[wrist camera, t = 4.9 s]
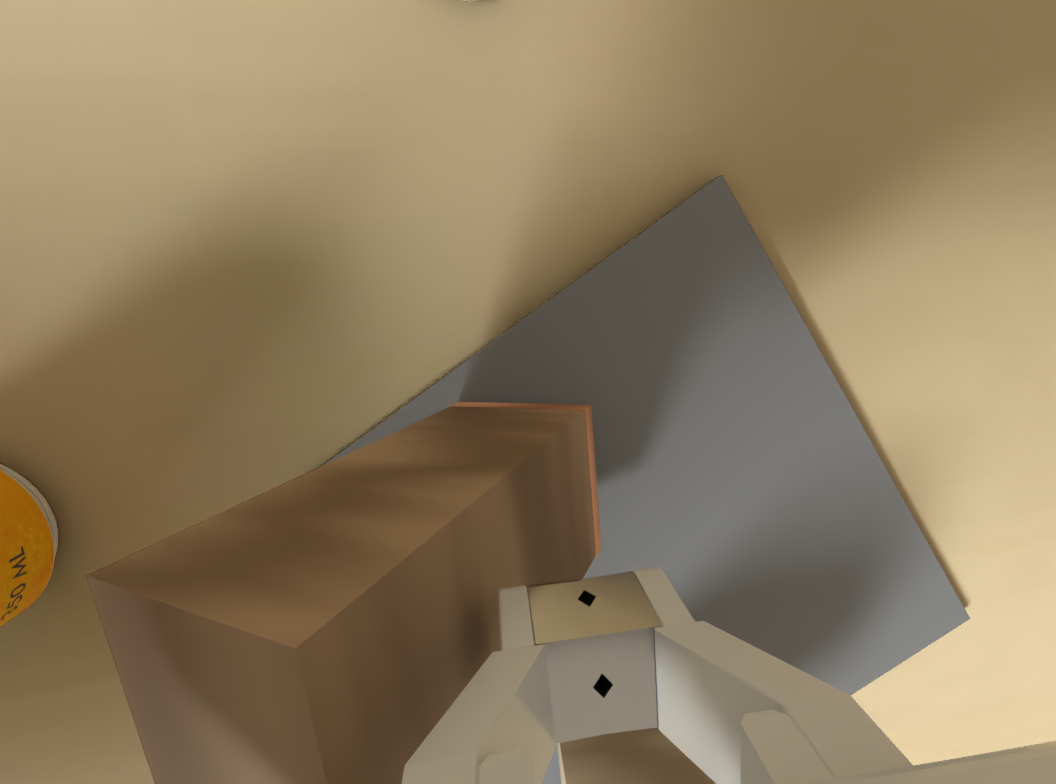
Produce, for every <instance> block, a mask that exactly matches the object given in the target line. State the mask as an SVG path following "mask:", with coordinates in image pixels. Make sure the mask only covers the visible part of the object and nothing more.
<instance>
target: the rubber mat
mask: <svg viewBox="0 0 1056 784" xmlns="http://www.w3.org/2000/svg"><path fill="white" fill-rule="evenodd" d="M457 402H491V403H535V404H580V405H591V408H592V422H593V436H594V451H595V465H596V479H597V493H598V507H599V521H600V535H601V550H600V552H599V553H598V555H597V557H595V558H594V560H593V562H592V563H591V565H590V567H589V569H588V570H587V572H586V574H585V575H584V577H583V579H586V578H592V577H599V576H605V575H611V574H617V573H623V572H630V571H633V570H639V569H644V568H650V567H655V566H657V567H659V568H661V569H662V571H663V572H664V574H665V575H666V577H667V578H668V580H669V581H670V583H671V585H672V586H673V588H674V589H675V591H676V592H677V594H678V595H679V597H680V599H681V600H682V602H683V603H684V605H685V606H686V608H687V609H688V611H689V613H690V614H691V616H692V617H693V619H694V620H695V622H698V621H705V622H707V623H709V624H711V625H713V626H715V627H717V628H719V629H721V630H723V631H725V632H727V633H729V634H731V635H733V636H735V637H737V638H739V639H741V640H743V641H744V642H746V643H748V644H750V645H752V646H754V647H756V648H758V649H760V650H762V651H764V652H766V653H768V654H770V655H772V656H774V657H776V658H778V659H780V660H782V661H784V662H786V663H788V664H790V665H792V666H794V667H796V668H798V669H800V670H802V671H804V672H806V673H808V674H810V675H812V676H814V677H816V678H817V679H819V680H821V681H823V682H825V683H827V684H829V685H831V686H833V687H835V688H837V689H839V690H841V691H843V692H845V693H847V694H849V695H852V694H853V693H855V692H857V691H858V690H860V689H861V688H863V687H864V686H866V685H867V684H869V683H871V682H872V681H874V680H875V679H877V678H878V677H880V676H882V675H883V674H885V673H886V672H888V671H889V670H891V669H892V668H894V667H896V666H897V665H899V664H900V663H902V662H903V661H905V660H906V659H908V658H910V657H911V656H913V655H914V654H916V653H917V652H919V651H920V650H922V649H924V648H925V647H927V646H928V645H930V644H931V643H933V642H934V641H936V640H938V639H939V638H941V637H942V636H944V635H945V634H947V633H948V632H950V631H952V630H953V629H955V628H956V627H958V626H959V625H961V624H962V623H964V622H966V621H967V620H969V619H970V617H969V615H968V614H967V612H966V610H965V608H964V607H963V605H962V603H961V601H960V599H959V598H958V596H957V594H956V592H955V590H954V589H953V587H952V585H951V583H950V582H949V580H948V578H947V576H946V574H945V573H944V571H943V569H942V567H941V565H940V564H939V562H938V560H937V558H936V557H935V555H934V553H933V551H932V549H931V548H930V546H929V544H928V542H927V540H926V539H925V537H924V535H923V533H922V532H921V530H920V528H919V526H918V524H917V523H916V521H915V519H914V517H913V515H912V514H911V512H910V510H909V508H908V507H907V505H906V503H905V501H904V499H903V498H902V496H901V494H900V492H899V490H898V489H897V487H896V485H895V483H894V482H893V480H892V478H891V476H890V474H889V473H888V471H887V469H886V467H885V465H884V464H883V462H882V460H881V458H880V456H879V455H878V453H877V451H876V449H875V448H874V446H873V444H872V442H871V440H870V439H869V437H868V435H867V433H866V431H865V430H864V428H863V426H862V424H861V423H860V421H859V419H858V417H857V415H856V414H855V412H854V410H853V408H852V406H851V405H850V403H849V401H848V399H847V398H846V396H845V394H844V392H843V390H842V389H841V387H840V385H839V383H838V381H837V380H836V378H835V376H834V374H833V373H832V371H831V369H830V367H829V365H828V364H827V362H826V360H825V358H824V356H823V355H822V353H821V351H820V349H819V348H818V346H817V344H816V342H815V340H814V339H813V337H812V335H811V333H810V331H809V330H808V328H807V326H806V324H805V323H804V321H803V319H802V317H801V315H800V314H799V312H798V310H797V308H796V306H795V305H794V303H793V301H792V299H791V298H790V296H789V294H788V292H787V290H786V289H785V287H784V285H783V283H782V281H781V280H780V278H779V276H778V274H777V273H776V271H775V269H774V267H773V265H772V264H771V262H770V260H769V258H768V256H767V255H766V253H765V251H764V249H763V248H762V246H761V244H760V242H759V240H758V239H757V237H756V235H755V233H754V231H753V230H752V228H751V226H750V224H749V223H748V221H747V219H746V217H745V215H744V214H743V212H742V210H741V208H740V206H739V205H738V203H737V201H736V199H735V197H734V196H733V194H732V192H731V190H730V189H729V187H728V185H727V183H726V181H725V180H724V178H723V176H722V175H721V176H719V177H717V178H715V179H714V180H712V181H711V182H710V183H708V184H707V185H706V186H704V187H703V188H702V189H700V190H699V191H697V192H696V193H695V194H693V195H692V196H691V197H689V198H688V199H686V200H685V201H684V202H682V203H681V204H680V205H678V206H677V207H675V208H674V209H673V210H671V211H670V212H669V213H667V214H666V215H664V216H663V217H662V218H660V219H659V220H658V221H656V222H655V223H654V224H652V225H651V226H649V227H648V228H647V229H645V230H644V231H643V232H641V233H640V234H638V235H637V236H636V237H634V238H633V239H632V240H630V241H629V242H627V243H626V244H625V245H623V246H622V247H621V248H619V249H618V250H617V251H615V252H614V253H612V254H611V255H610V256H608V257H607V258H606V259H604V260H603V261H601V262H600V263H599V264H597V265H596V266H595V267H593V268H592V269H590V270H589V271H588V272H586V273H585V274H584V275H582V276H581V277H580V278H578V279H577V280H575V281H574V282H573V283H571V284H570V285H569V286H567V287H566V288H564V289H563V290H562V291H560V292H559V293H558V294H556V295H555V296H553V297H552V298H551V299H549V300H548V301H547V302H545V303H544V304H543V305H541V306H540V307H538V308H537V309H536V310H534V311H533V312H532V313H530V314H529V315H527V316H526V317H525V318H523V319H522V320H521V321H519V322H518V323H516V324H515V325H514V326H512V327H511V328H510V329H508V330H507V331H506V332H504V333H503V334H501V335H500V336H499V337H497V338H496V339H495V340H493V341H492V342H490V343H489V344H488V345H486V346H485V347H484V348H482V349H481V350H479V351H478V352H477V353H475V354H474V355H473V356H471V357H470V358H468V359H467V360H466V361H464V362H463V363H462V364H460V365H459V366H458V367H456V368H455V369H453V370H452V371H451V372H449V373H448V374H447V375H445V376H444V377H442V378H441V379H440V380H438V381H437V382H436V383H434V384H433V385H431V386H430V387H429V388H427V389H426V390H425V391H423V392H422V393H421V394H419V395H418V396H416V397H415V398H414V399H412V400H411V401H410V402H408V403H407V404H405V405H404V406H403V407H401V408H400V409H399V410H397V411H396V412H394V413H393V414H392V415H390V416H389V417H388V418H386V419H385V420H384V421H382V422H381V423H379V424H378V425H377V426H375V427H374V428H373V429H371V430H370V431H368V432H367V433H366V434H364V435H363V436H362V437H360V438H359V439H357V440H356V441H355V442H353V443H352V444H351V445H349V446H348V447H347V448H345V449H344V450H342V451H341V452H340V453H338V454H337V455H336V456H334V457H333V458H331V459H330V460H329V461H327V462H326V463H325V464H328V463H330V462H332V461H334V460H336V459H338V458H340V457H343V456H345V455H347V454H349V453H351V452H353V451H355V450H358V449H360V448H362V447H364V446H366V445H368V444H371V443H373V442H375V441H377V440H379V439H381V438H383V437H386V436H388V435H390V434H392V433H394V432H396V431H398V430H401V429H403V428H405V427H407V426H409V425H411V424H413V423H416V422H418V421H420V420H422V419H424V418H426V417H428V416H431V415H433V414H435V413H437V412H439V411H441V410H444V409H446V408H448V407H450V405H452V404H454V403H457ZM325 464H323V465H325ZM323 465H322V466H323ZM320 467H321V466H320ZM555 745H556V744H555ZM542 784H560V775H559V766H558V756H557V746H556V748H555V750H554V753H553V756H552V758H551V761H550V763H549V766H548V768H547V771H546V773H545V776H544V778H543V781H542Z"/></svg>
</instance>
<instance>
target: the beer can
mask: <svg viewBox="0 0 1056 784" xmlns="http://www.w3.org/2000/svg"><path fill="white" fill-rule="evenodd" d="M57 548H58V528H57V523H56V520H55V517H54V514H53V512H52V510H51V508H50V506H49V504H48V503H47V501H46V500H45V498H44V497H43V495H42V494H41V493H40V492H39V491H38V489H37V488H36V487H34V486H33V485H32V484H31V483H30V482H29V481H28V480H27V479H25V478H24V477H23V476H21V475H20V474H18V473H17V472H15V471H14V470H12V469H10V468H8V467H6V466H4V465H2V464H0V627H1V626H2V625H4V624H5V623H7V622H8V621H10V620H11V619H12V618H14V617H15V616H17V615H18V614H20V613H21V612H22V611H24V610H25V609H26V608H28V607H29V606H30V605H31V604H33V603H34V602H35V601H36V599H37V598H38V597H39V596H40V595H41V594H42V592H43V591H44V589H45V588H46V586H47V584H48V582H49V580H50V577H51V574H52V571H53V566H54V559H55V556H56V553H57Z"/></svg>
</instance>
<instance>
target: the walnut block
mask: <svg viewBox="0 0 1056 784" xmlns="http://www.w3.org/2000/svg"><path fill="white" fill-rule="evenodd" d="M600 550H601V535H600V521H599V507H598V493H597V479H596V465H595V451H594V436H593V422H592V408H591V405H580V404H535V403H491V402H457V403H454V404H452V405H450V407H448V408H446V409H444V410H441V411H439V412H437V413H435V414H433V415H431V416H428V417H426V418H424V419H422V420H420V421H418V422H416V423H413V424H411V425H409V426H407V427H405V428H403V429H401V430H398V431H396V432H394V433H392V434H390V435H388V436H386V437H383V438H381V439H379V440H377V441H375V442H373V443H371V444H368V445H366V446H364V447H362V448H360V449H358V450H355V451H353V452H351V453H349V454H347V455H345V456H343V457H340V458H338V459H336V460H334V461H332V462H330V463H328V464H325V465H323V466H321V467H319V468H317V469H315V470H313V471H310V472H308V473H306V474H304V475H302V476H300V477H298V478H295V479H293V480H291V481H289V482H287V483H285V484H283V485H280V486H278V487H276V488H274V489H272V490H270V491H267V492H265V493H263V494H261V495H259V496H257V497H255V498H252V499H250V500H248V501H246V502H244V503H242V504H240V505H237V506H235V507H233V508H231V509H229V510H227V511H225V512H222V513H220V514H218V515H216V516H214V517H212V518H210V519H207V520H205V521H203V522H201V523H199V524H197V525H194V526H192V527H190V528H188V529H186V530H184V531H182V532H179V533H177V534H175V535H173V536H171V537H169V538H167V539H164V540H162V541H160V542H158V543H156V544H154V545H152V546H149V547H147V548H145V549H143V550H141V551H139V552H137V553H134V554H132V555H130V556H128V557H126V558H124V559H121V560H119V561H117V562H115V563H113V564H111V565H109V566H106V567H104V568H102V569H100V570H98V571H96V572H94V573H91V574H89V575H87V579H88V582H89V585H90V588H91V591H92V594H93V597H94V601H95V604H96V607H97V610H98V613H99V616H100V619H101V622H102V625H103V628H104V631H105V634H106V637H107V640H108V643H109V646H110V649H111V652H112V655H113V658H114V661H115V664H116V667H117V670H118V673H119V676H120V679H121V682H122V685H123V688H124V691H125V694H126V697H127V701H128V704H129V707H130V710H131V713H132V716H133V719H134V722H135V725H136V728H137V731H138V734H139V737H140V740H141V743H142V746H143V749H144V752H145V755H146V758H147V761H148V764H149V767H150V770H151V773H152V776H153V779H154V782H155V784H402V778H403V772H404V766H405V764H406V763H407V762H408V760H409V759H410V758H411V757H412V755H413V754H414V753H415V751H416V750H417V749H418V748H419V746H420V745H421V744H422V742H423V741H424V740H425V738H426V737H427V736H428V735H429V733H430V732H431V731H432V729H433V728H434V727H435V726H436V724H437V723H438V722H439V720H440V719H441V718H442V717H443V715H444V714H445V713H446V711H447V710H448V709H449V707H450V706H451V705H452V704H453V702H454V701H455V700H456V698H457V697H458V696H459V695H460V693H461V692H462V691H463V689H464V688H465V687H466V686H467V684H468V683H469V682H470V680H471V679H472V678H473V677H474V675H475V674H476V673H477V671H478V670H479V669H480V667H481V666H482V665H483V664H484V662H485V661H486V660H487V658H488V657H489V656H490V655H491V653H492V652H495V651H501V643H500V622H499V600H498V592H499V589H501V588H508V587H515V586H521V585H525V586H526V587H527V585H531V584H539V583H548V582H556V581H565V580H573V579H583V577H584V575H585V574H586V572H587V570H588V569H589V567H590V565H591V563H592V562H593V560H594V558H595V557H597V555H598V553H599V552H600Z"/></svg>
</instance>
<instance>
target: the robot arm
mask: <svg viewBox="0 0 1056 784" xmlns="http://www.w3.org/2000/svg"><path fill="white" fill-rule="evenodd" d="M498 600H499V622H500V643H501V651H495V652H492V653H491V655H490V656H489V657H488V658H487V660H486V661H485V662H484V664H483V665H482V666H481V667H480V669H479V670H478V671H477V673H476V674H475V675H474V677H473V678H472V679H471V680H470V682H469V683H468V684H467V686H466V687H465V688H464V689H463V691H462V692H461V693H460V695H459V696H458V697H457V698H456V700H455V701H454V702H453V704H452V705H451V706H450V707H449V709H448V710H447V711H446V713H445V714H444V715H443V717H442V718H441V719H440V720H439V722H438V723H437V724H436V726H435V727H434V728H433V729H432V731H431V732H430V733H429V735H428V736H427V737H426V738H425V740H424V741H423V742H422V744H421V745H420V746H419V748H418V749H417V750H416V751H415V753H414V754H413V755H412V757H411V758H410V759H409V760H408V762H407V763H406V764H405V766H404V772H403V778H402V784H542V781H543V778H544V776H545V773H546V771H547V768H548V766H549V763H550V761H551V758H552V756H553V753H554V750H555V748H556V745H555V744H557V743H562V742H567V741H572V740H577V739H582V738H588V737H593V736H598V735H603V734H609V733H617V732H625V731H633V730H640V729H648V728H656V727H659V730H660V731H661V732H662V733H663V734H664V735H665V736H666V737H667V738H668V739H669V740H670V741H671V742H672V743H673V744H674V745H675V746H677V747H678V748H679V749H680V750H681V751H682V752H683V753H684V754H685V755H686V756H687V757H688V758H689V759H690V760H691V761H692V762H694V763H695V764H696V765H697V766H698V767H699V768H700V769H701V770H702V771H703V772H704V773H705V774H706V775H707V776H708V777H710V778H711V779H712V780H713V781H714V782H715V783H716V784H1056V741H1052V742H1046V743H1041V744H1035V745H1030V746H1024V747H1018V748H1013V749H1007V750H1001V751H996V752H990V753H984V754H979V755H973V756H967V757H962V758H956V759H950V760H944V761H938V762H933V763H927V764H921V765H915V766H913V765H912V764H911V763H910V762H909V760H908V759H907V758H906V757H905V756H904V755H903V754H902V753H901V751H900V750H899V749H898V748H897V747H896V746H895V745H894V744H893V743H892V741H891V740H890V739H889V738H888V737H887V736H886V735H885V734H884V732H883V731H882V730H881V729H880V728H879V727H878V726H877V725H876V724H875V722H874V721H873V720H872V719H871V718H870V717H869V716H868V715H867V714H866V712H865V711H864V710H863V709H862V708H861V707H860V706H859V705H858V703H857V702H856V701H855V700H854V699H853V698H852V697H851V696H850V695H849V694H847V693H845V692H843V691H841V690H839V689H837V688H835V687H833V686H831V685H829V684H827V683H825V682H823V681H821V680H819V679H817V678H816V677H814V676H812V675H810V674H808V673H806V672H804V671H802V670H800V669H798V668H796V667H794V666H792V665H790V664H788V663H786V662H784V661H782V660H780V659H778V658H776V657H774V656H772V655H770V654H768V653H766V652H764V651H762V650H760V649H758V648H756V647H754V646H752V645H750V644H748V643H746V642H744V641H743V640H741V639H739V638H737V637H735V636H733V635H731V634H729V633H727V632H725V631H723V630H721V629H719V628H717V627H715V626H713V625H711V624H709V623H707V622H705V621H698V622H695V620H694V619H693V617H692V616H691V614H690V613H689V611H688V609H687V608H686V606H685V605H684V603H683V602H682V600H681V599H680V597H679V595H678V594H677V592H676V591H675V589H674V588H673V586H672V585H671V583H670V581H669V580H668V578H667V577H666V575H665V574H664V572H663V571H662V569H661V568H659V567H657V566H655V567H650V568H644V569H639V570H633V571H630V572H623V573H617V574H611V575H605V576H599V577H592V578H586V579H573V580H565V581H556V582H548V583H539V584H531V585H527V587H526V586H525V585H521V586H515V587H508V588H501V589H499V592H498Z"/></svg>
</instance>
